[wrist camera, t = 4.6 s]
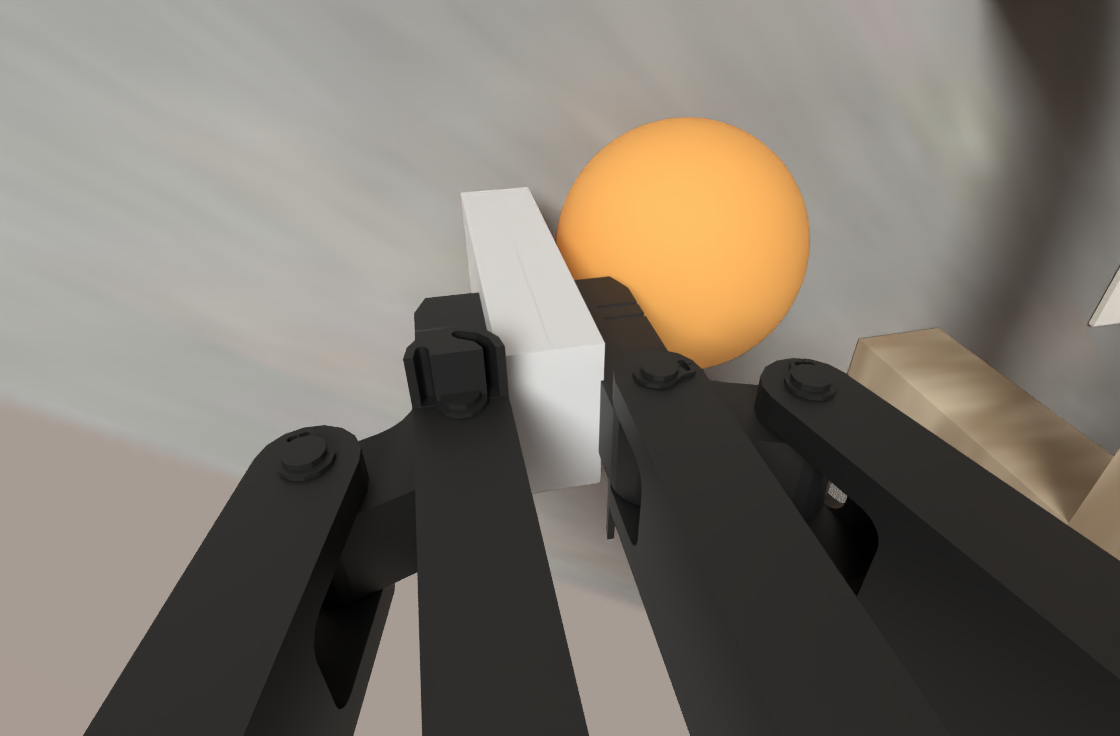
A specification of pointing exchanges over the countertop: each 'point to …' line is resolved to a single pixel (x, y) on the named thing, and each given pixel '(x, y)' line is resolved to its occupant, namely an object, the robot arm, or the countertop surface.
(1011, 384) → the bridge
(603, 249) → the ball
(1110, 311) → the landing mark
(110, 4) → the countertop surface
